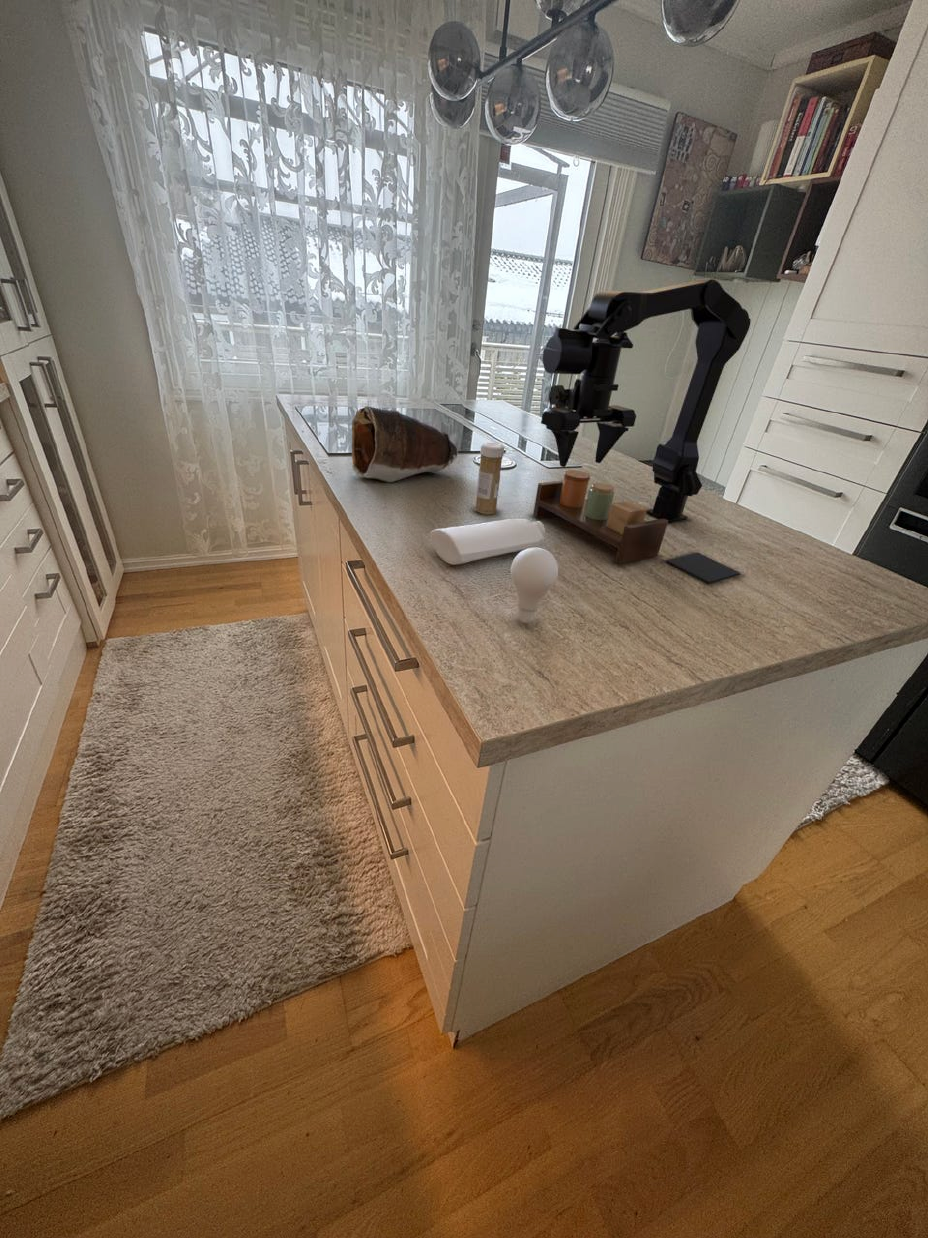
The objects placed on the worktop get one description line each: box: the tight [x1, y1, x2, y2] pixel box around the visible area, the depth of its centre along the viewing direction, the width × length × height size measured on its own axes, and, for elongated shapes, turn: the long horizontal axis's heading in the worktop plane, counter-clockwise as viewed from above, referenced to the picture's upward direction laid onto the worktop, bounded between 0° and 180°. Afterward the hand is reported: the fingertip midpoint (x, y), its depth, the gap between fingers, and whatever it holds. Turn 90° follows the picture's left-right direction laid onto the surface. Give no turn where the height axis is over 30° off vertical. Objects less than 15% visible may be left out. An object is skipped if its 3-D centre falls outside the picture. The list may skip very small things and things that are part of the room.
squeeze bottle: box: [430, 518, 546, 566], centre depth 89 cm, size 10×20×5 cm, turn 122°
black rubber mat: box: [665, 552, 741, 585], centre depth 92 cm, size 9×9×1 cm
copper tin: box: [559, 469, 591, 508], centre depth 102 cm, size 5×5×6 cm
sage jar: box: [584, 482, 615, 520], centre depth 97 cm, size 5×5×6 cm
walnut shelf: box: [532, 479, 669, 566], centre depth 99 cm, size 10×24×7 cm, turn 32°
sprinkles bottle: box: [474, 442, 505, 515], centre depth 103 cm, size 5×5×13 cm
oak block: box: [606, 500, 648, 534], centre depth 93 cm, size 4×4×4 cm
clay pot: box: [351, 406, 459, 484], centre depth 121 cm, size 15×15×25 cm
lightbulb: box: [510, 546, 559, 624], centre depth 68 cm, size 6×6×11 cm
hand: (580, 464), depth 99 cm, fingers open, 9 cm apart
